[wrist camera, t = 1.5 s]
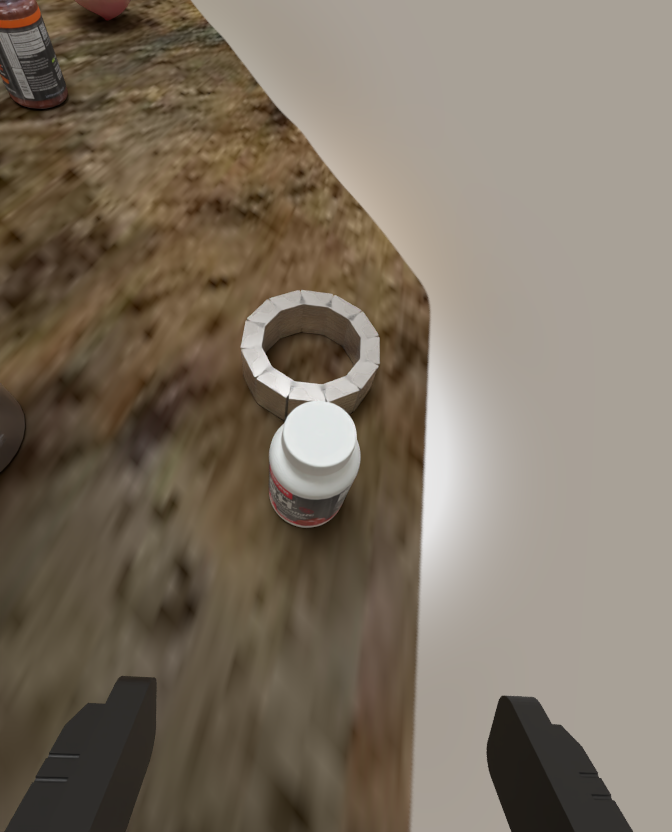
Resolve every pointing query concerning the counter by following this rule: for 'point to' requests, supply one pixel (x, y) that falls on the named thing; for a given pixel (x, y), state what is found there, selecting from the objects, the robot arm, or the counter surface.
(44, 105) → the supplement bottle
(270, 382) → the ring collar
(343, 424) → the pill bottle
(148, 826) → the counter surface
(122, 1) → the decorative fruit
